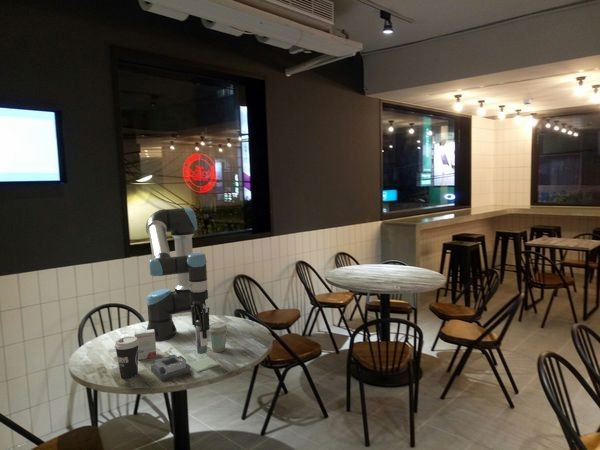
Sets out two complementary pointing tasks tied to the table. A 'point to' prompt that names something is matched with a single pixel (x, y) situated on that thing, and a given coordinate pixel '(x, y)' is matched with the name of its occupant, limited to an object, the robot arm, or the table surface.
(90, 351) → the table surface
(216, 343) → the coffee cup
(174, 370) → the block
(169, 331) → the robot arm
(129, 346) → the coffee cup
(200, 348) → the dark glossy cylinder
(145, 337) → the ink box
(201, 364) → the mat
